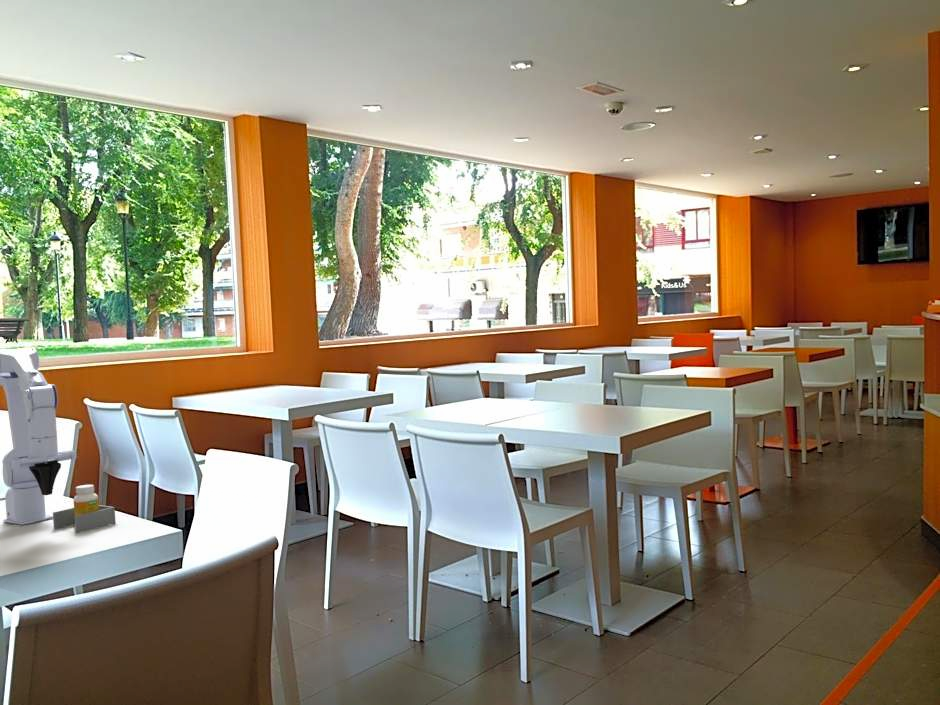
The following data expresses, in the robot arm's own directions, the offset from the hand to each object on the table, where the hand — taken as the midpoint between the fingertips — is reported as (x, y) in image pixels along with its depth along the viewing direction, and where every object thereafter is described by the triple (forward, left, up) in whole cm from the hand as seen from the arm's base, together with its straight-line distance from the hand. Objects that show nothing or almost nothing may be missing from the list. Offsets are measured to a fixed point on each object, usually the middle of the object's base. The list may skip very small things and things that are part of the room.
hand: (46, 494), depth 188 cm
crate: (+1, +8, -9) cm, 12 cm away
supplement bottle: (+2, +9, -10) cm, 13 cm away
